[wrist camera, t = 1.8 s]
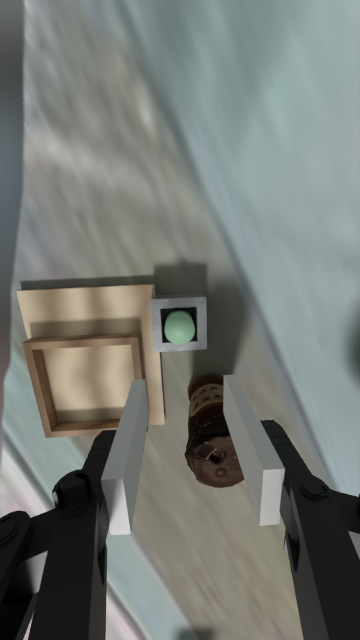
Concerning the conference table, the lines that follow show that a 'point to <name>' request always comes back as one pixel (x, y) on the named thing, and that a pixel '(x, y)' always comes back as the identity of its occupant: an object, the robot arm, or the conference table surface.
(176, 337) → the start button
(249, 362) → the conference table surface
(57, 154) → the conference table surface
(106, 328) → the tray
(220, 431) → the coffee cup
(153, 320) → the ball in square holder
